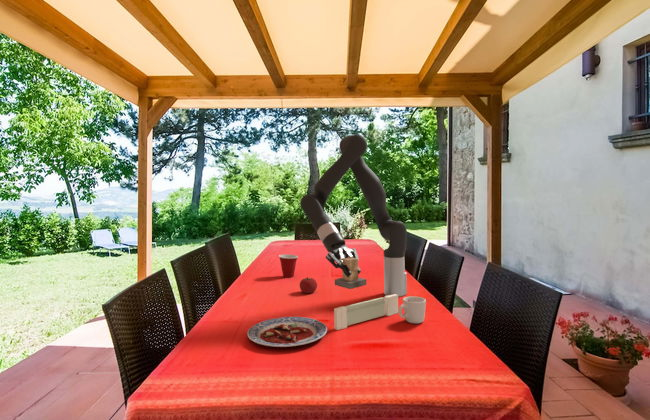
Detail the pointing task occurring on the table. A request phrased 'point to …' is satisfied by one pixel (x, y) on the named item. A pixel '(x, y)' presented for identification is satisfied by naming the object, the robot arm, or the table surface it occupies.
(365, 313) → the gate
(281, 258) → the plastic cup
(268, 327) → the ceramic plate
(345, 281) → the wooden block on base
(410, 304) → the cup
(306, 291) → the tomato
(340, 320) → the wooden blocks
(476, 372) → the table surface
